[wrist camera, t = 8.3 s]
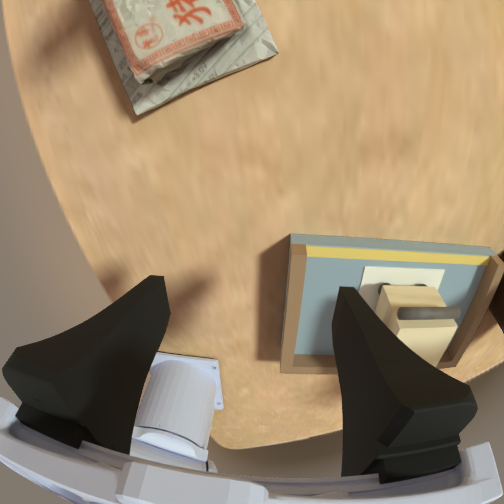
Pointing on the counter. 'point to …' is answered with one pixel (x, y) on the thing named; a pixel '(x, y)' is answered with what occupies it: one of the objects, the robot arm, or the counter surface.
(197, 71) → the packaged product
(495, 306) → the olive oil
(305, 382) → the counter surface
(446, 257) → the dock
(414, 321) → the beige block with rod
